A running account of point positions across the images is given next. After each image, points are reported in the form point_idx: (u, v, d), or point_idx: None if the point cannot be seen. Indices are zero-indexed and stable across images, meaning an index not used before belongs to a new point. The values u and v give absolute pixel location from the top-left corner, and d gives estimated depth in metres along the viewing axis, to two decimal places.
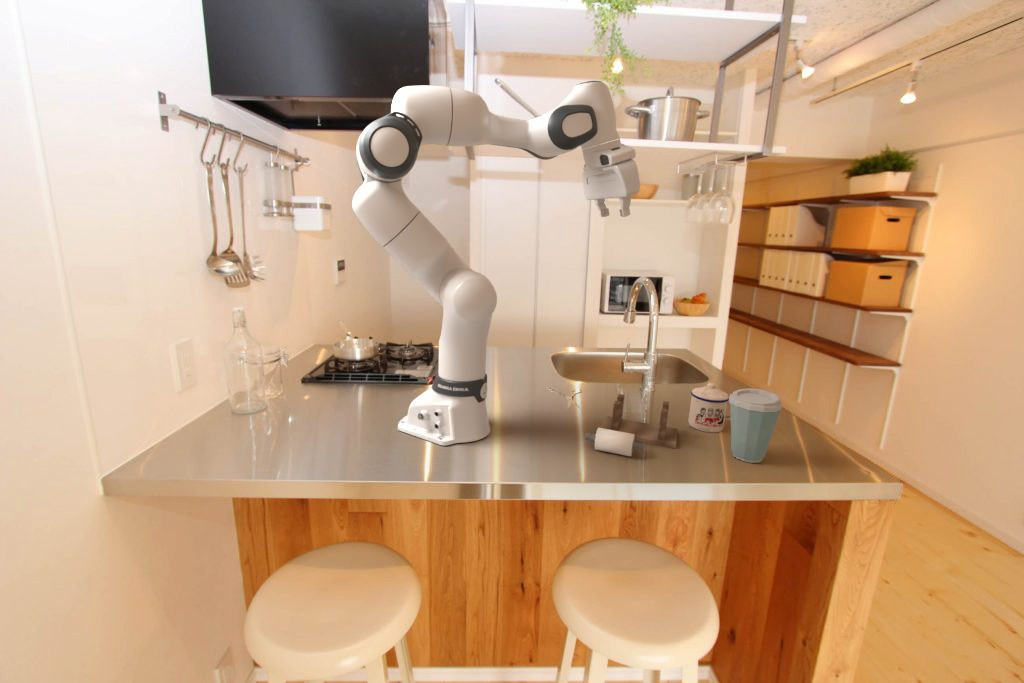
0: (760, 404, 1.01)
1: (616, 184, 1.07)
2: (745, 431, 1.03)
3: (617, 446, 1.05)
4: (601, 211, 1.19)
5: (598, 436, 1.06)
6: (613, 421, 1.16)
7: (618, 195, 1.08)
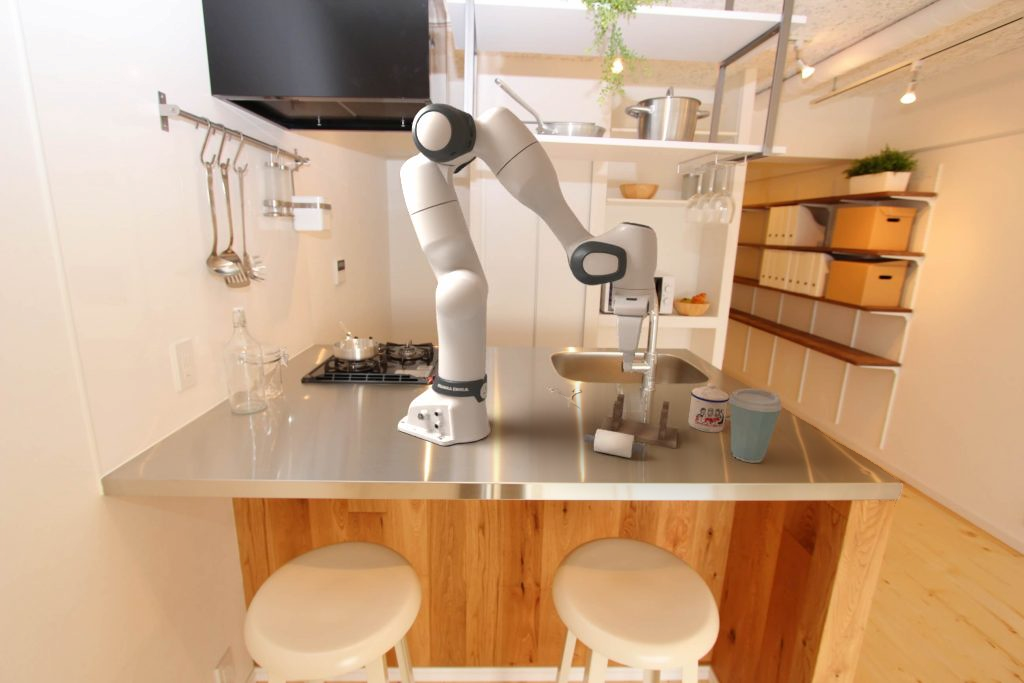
0: (760, 404, 1.01)
1: None
2: (745, 431, 1.03)
3: (616, 451, 1.04)
4: None
5: (597, 441, 1.05)
6: (613, 421, 1.16)
7: None
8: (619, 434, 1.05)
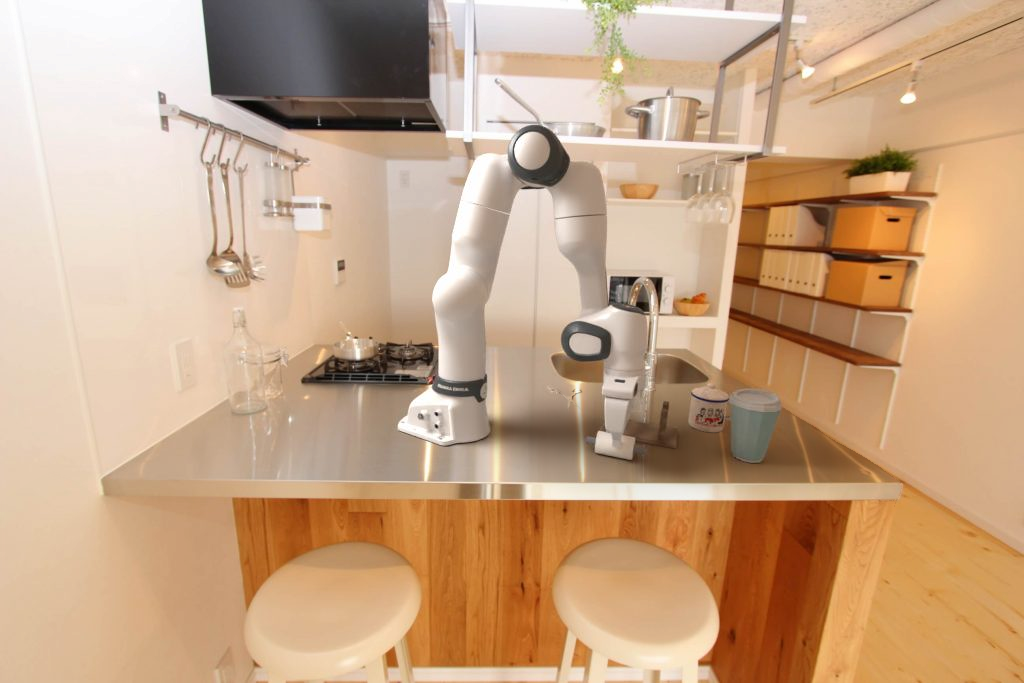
0: (760, 404, 1.01)
1: None
2: (745, 431, 1.03)
3: None
4: None
5: None
6: None
7: None
8: None
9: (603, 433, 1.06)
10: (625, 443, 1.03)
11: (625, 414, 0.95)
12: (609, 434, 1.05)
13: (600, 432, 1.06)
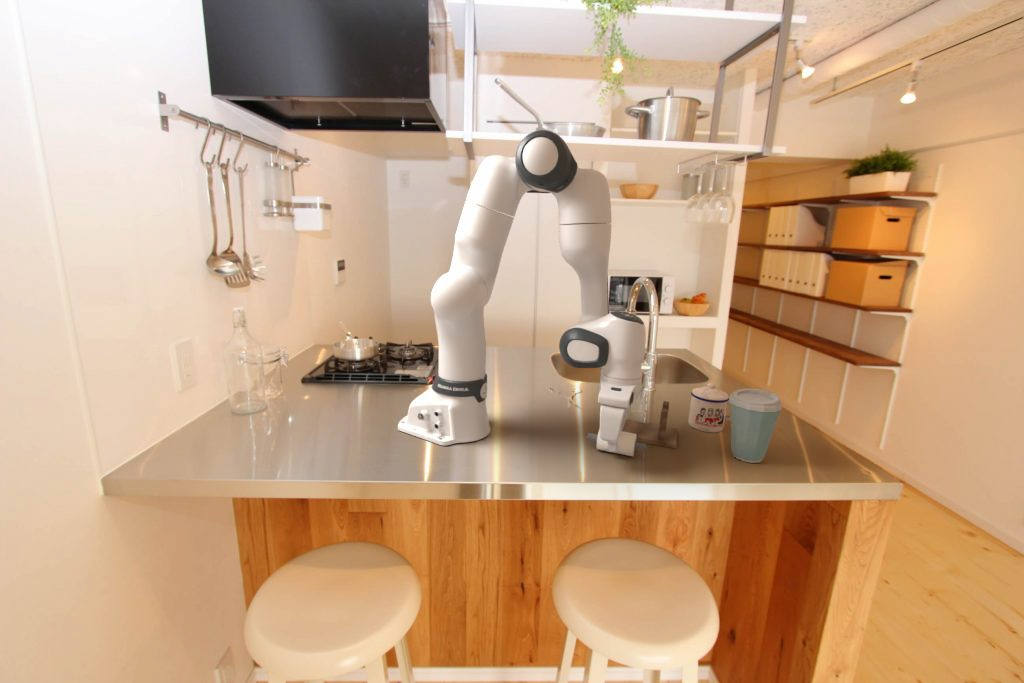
0: (760, 404, 1.01)
1: None
2: (745, 431, 1.03)
3: (619, 453, 1.06)
4: None
5: (599, 446, 1.06)
6: None
7: None
8: (620, 437, 1.05)
9: None
10: (627, 434, 1.05)
11: (620, 422, 0.96)
12: None
13: None
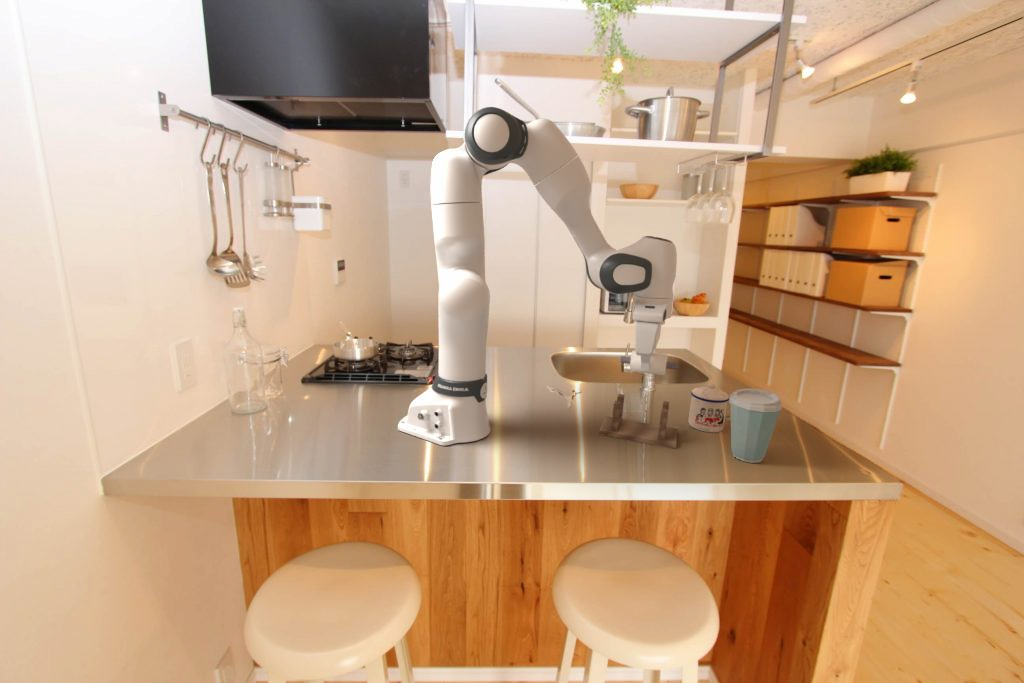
0: (761, 404, 1.01)
1: None
2: (745, 431, 1.03)
3: (651, 372, 1.12)
4: None
5: (632, 366, 1.12)
6: (613, 421, 1.16)
7: None
8: (653, 357, 1.11)
9: None
10: (659, 354, 1.11)
11: (655, 336, 1.02)
12: None
13: None
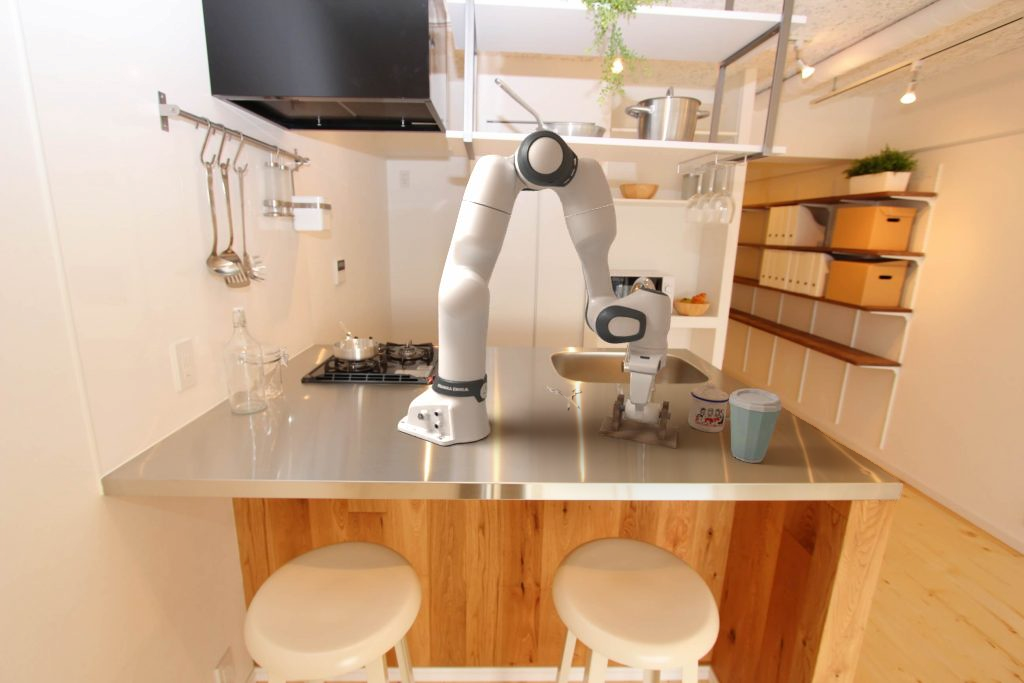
0: (760, 404, 1.01)
1: None
2: (745, 431, 1.03)
3: (645, 421, 1.15)
4: None
5: (627, 415, 1.16)
6: (613, 421, 1.16)
7: None
8: (647, 407, 1.15)
9: None
10: (653, 404, 1.15)
11: (649, 387, 1.05)
12: None
13: (629, 399, 1.18)
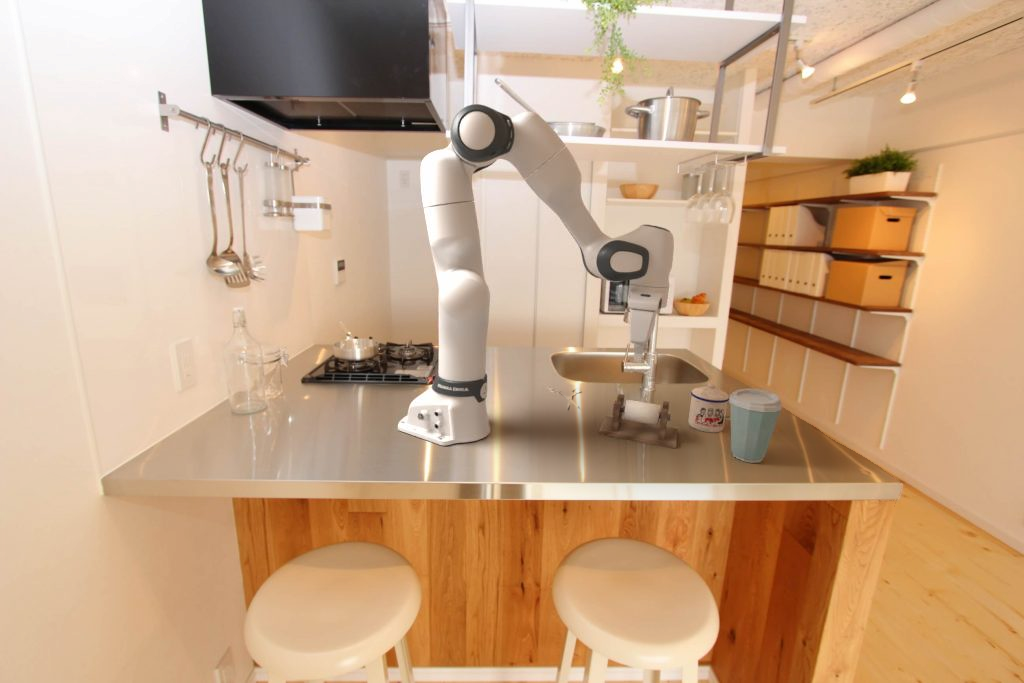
0: (760, 404, 1.01)
1: None
2: (745, 431, 1.03)
3: None
4: None
5: None
6: (613, 421, 1.16)
7: None
8: (645, 416, 1.14)
9: (631, 403, 1.16)
10: (652, 412, 1.13)
11: (649, 324, 1.02)
12: (636, 404, 1.15)
13: (628, 402, 1.16)
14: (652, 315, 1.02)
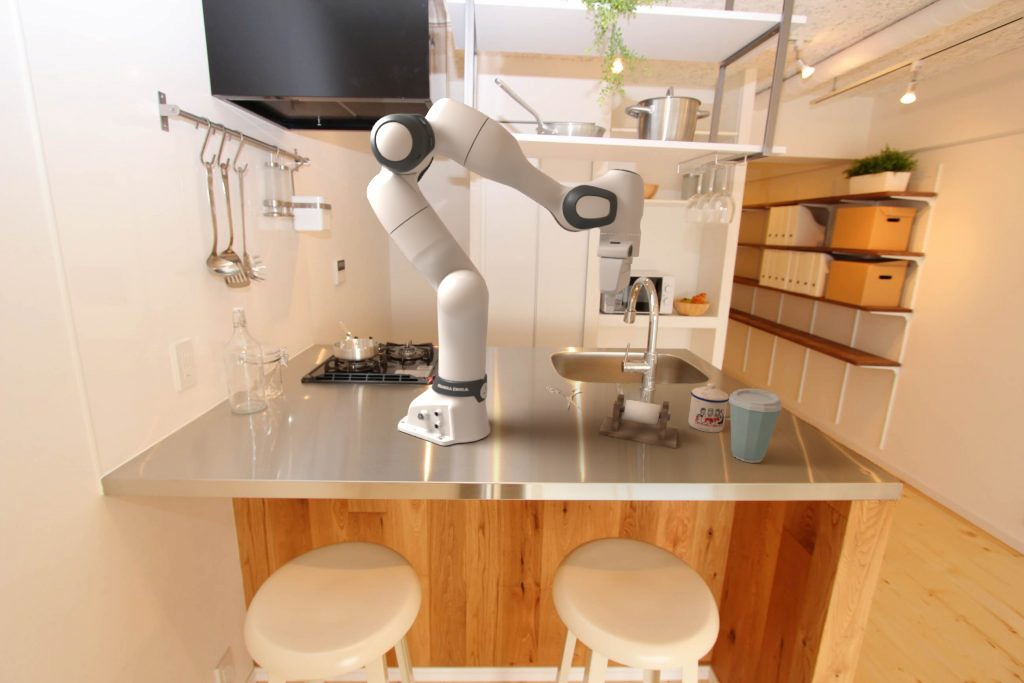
0: (760, 404, 1.01)
1: None
2: (745, 431, 1.03)
3: None
4: None
5: None
6: (613, 421, 1.16)
7: None
8: (645, 416, 1.14)
9: (631, 403, 1.16)
10: (652, 412, 1.13)
11: (619, 272, 0.97)
12: (636, 404, 1.15)
13: (628, 402, 1.16)
14: (621, 262, 0.97)
